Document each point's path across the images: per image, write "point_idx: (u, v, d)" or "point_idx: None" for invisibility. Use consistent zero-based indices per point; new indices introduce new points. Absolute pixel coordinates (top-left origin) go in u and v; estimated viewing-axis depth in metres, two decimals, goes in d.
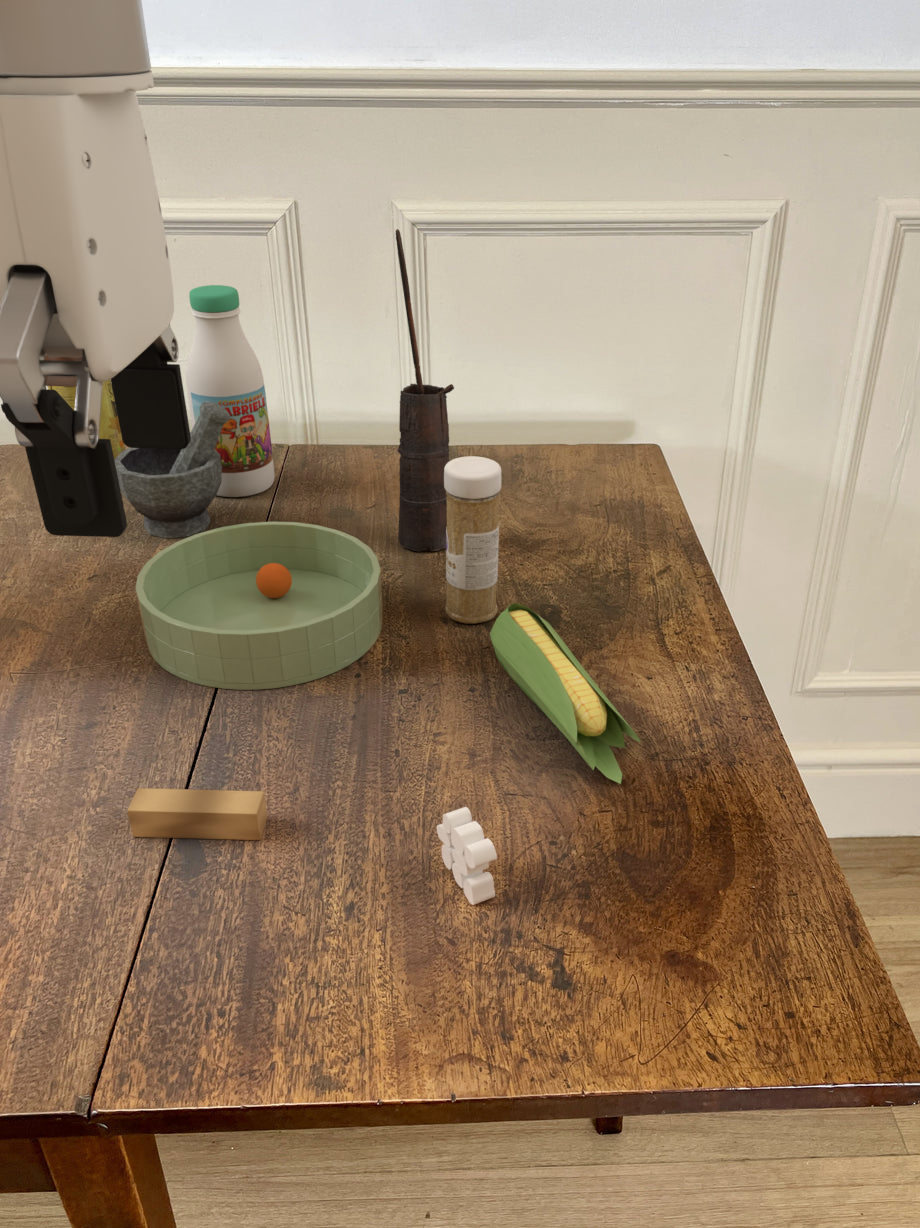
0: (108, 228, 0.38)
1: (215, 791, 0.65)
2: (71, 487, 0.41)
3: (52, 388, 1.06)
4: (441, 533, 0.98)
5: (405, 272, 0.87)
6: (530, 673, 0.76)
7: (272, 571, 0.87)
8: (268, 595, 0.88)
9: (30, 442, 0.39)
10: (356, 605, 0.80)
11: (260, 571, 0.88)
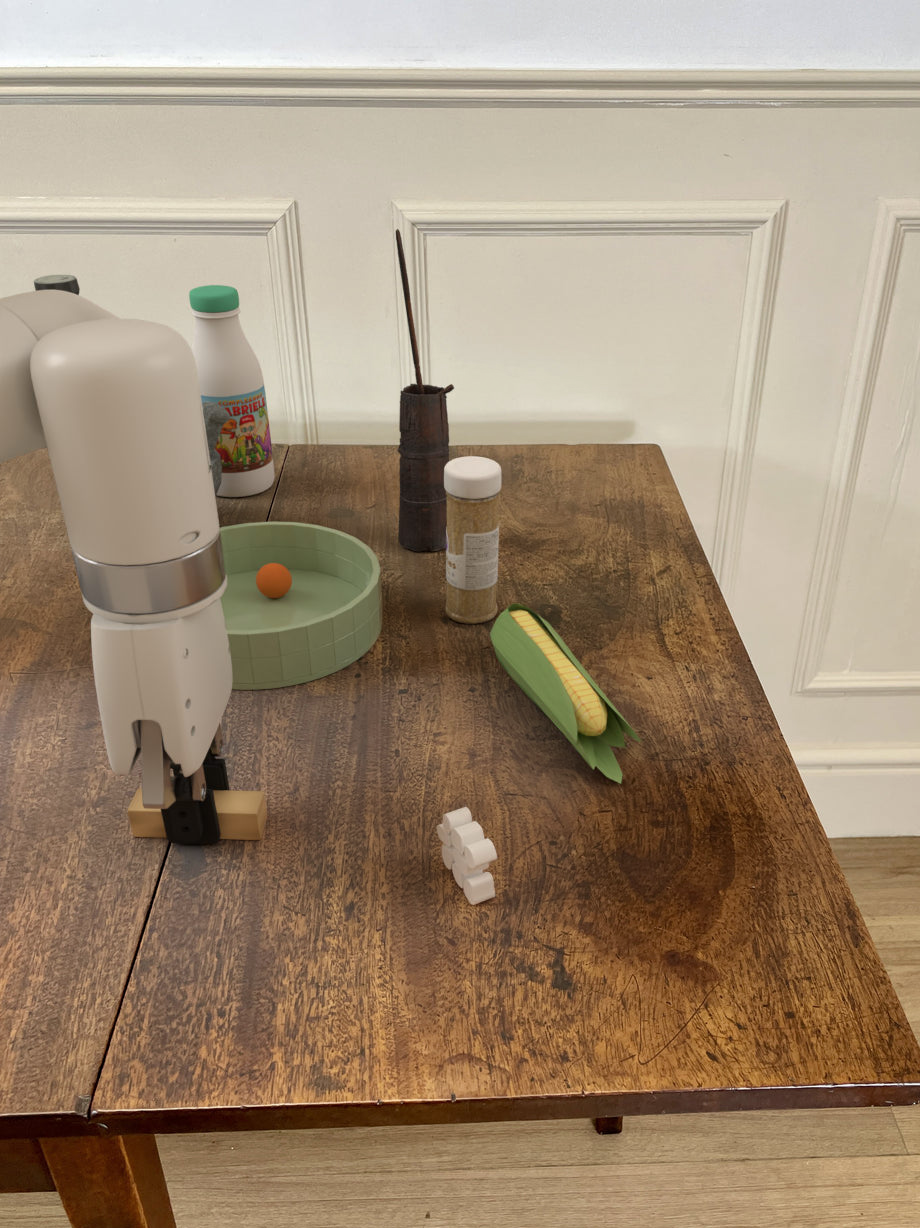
0: (197, 683, 0.56)
1: (215, 791, 0.65)
2: (187, 821, 0.62)
3: None
4: (441, 533, 0.98)
5: (405, 272, 0.87)
6: (530, 673, 0.76)
7: (272, 571, 0.87)
8: (268, 595, 0.88)
9: None
10: (356, 605, 0.80)
11: (260, 571, 0.88)
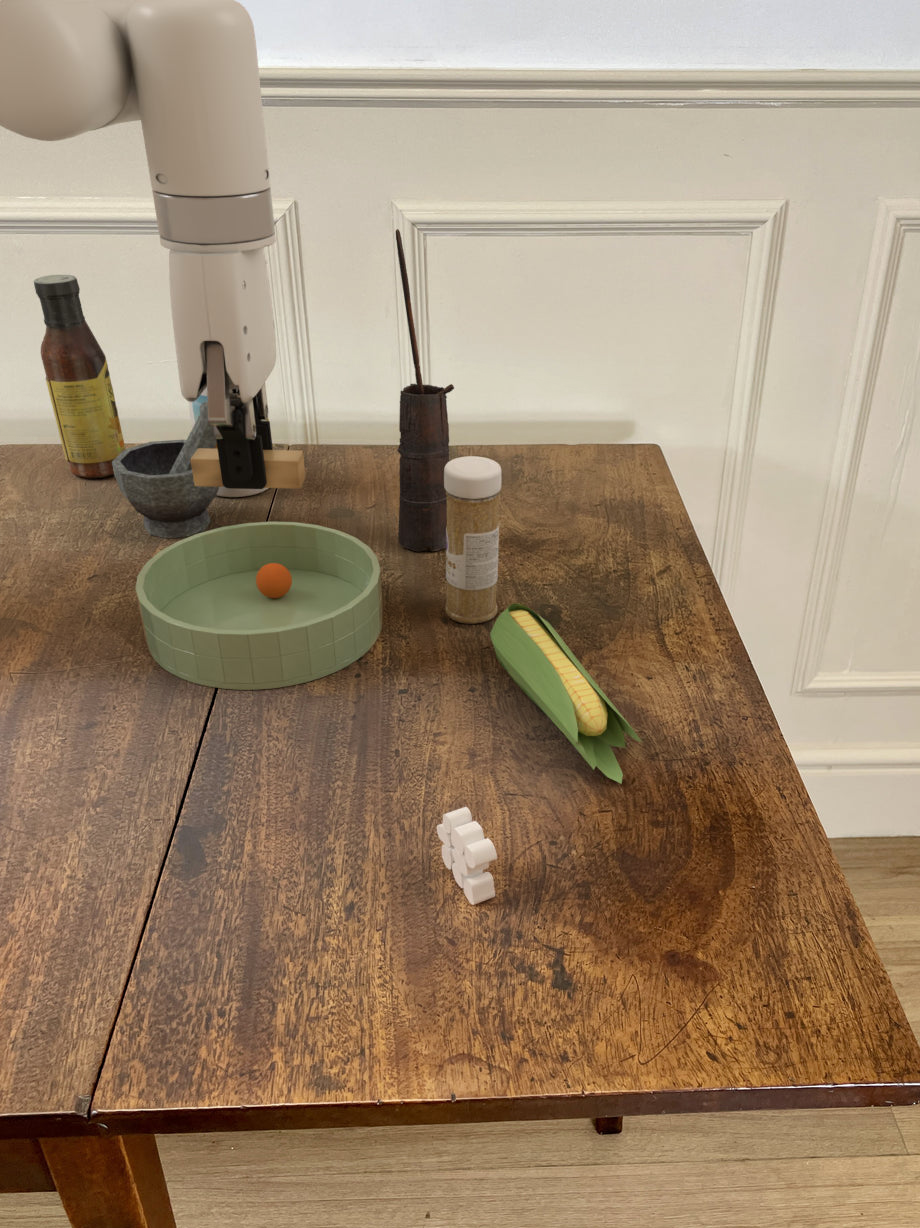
0: (252, 319, 0.70)
1: None
2: (240, 461, 0.76)
3: (52, 388, 1.06)
4: (441, 533, 0.98)
5: (405, 272, 0.87)
6: (530, 673, 0.76)
7: (272, 571, 0.87)
8: (268, 595, 0.88)
9: (223, 439, 0.75)
10: (356, 605, 0.80)
11: (260, 571, 0.88)
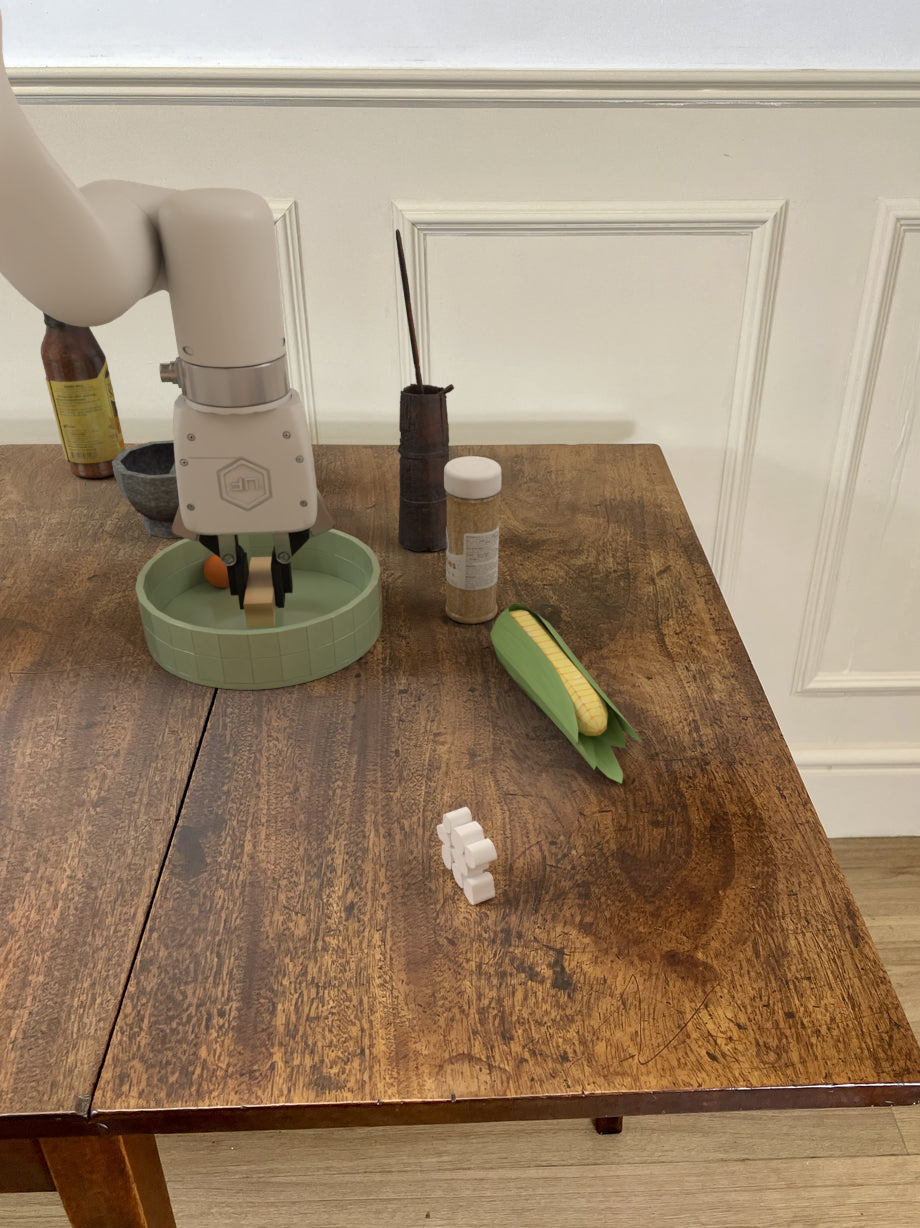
0: None
1: (250, 573, 0.85)
2: (290, 572, 0.84)
3: (52, 388, 1.06)
4: (441, 533, 0.98)
5: (405, 272, 0.87)
6: (531, 673, 0.76)
7: None
8: (209, 572, 0.89)
9: (288, 560, 0.83)
10: (356, 605, 0.80)
11: None
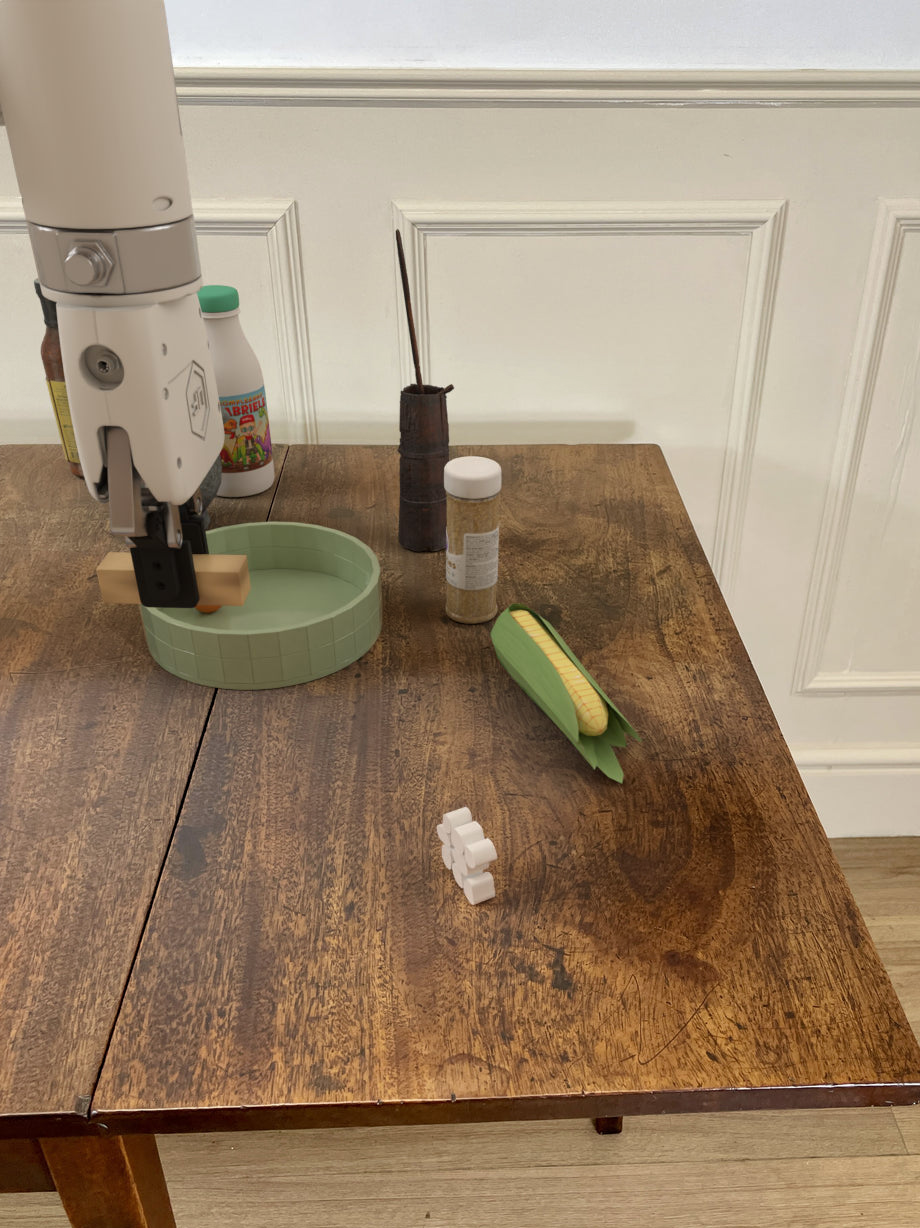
0: None
1: None
2: None
3: (52, 388, 1.06)
4: (441, 533, 0.98)
5: (405, 272, 0.87)
6: (531, 673, 0.76)
7: None
8: None
9: None
10: (356, 605, 0.80)
11: None
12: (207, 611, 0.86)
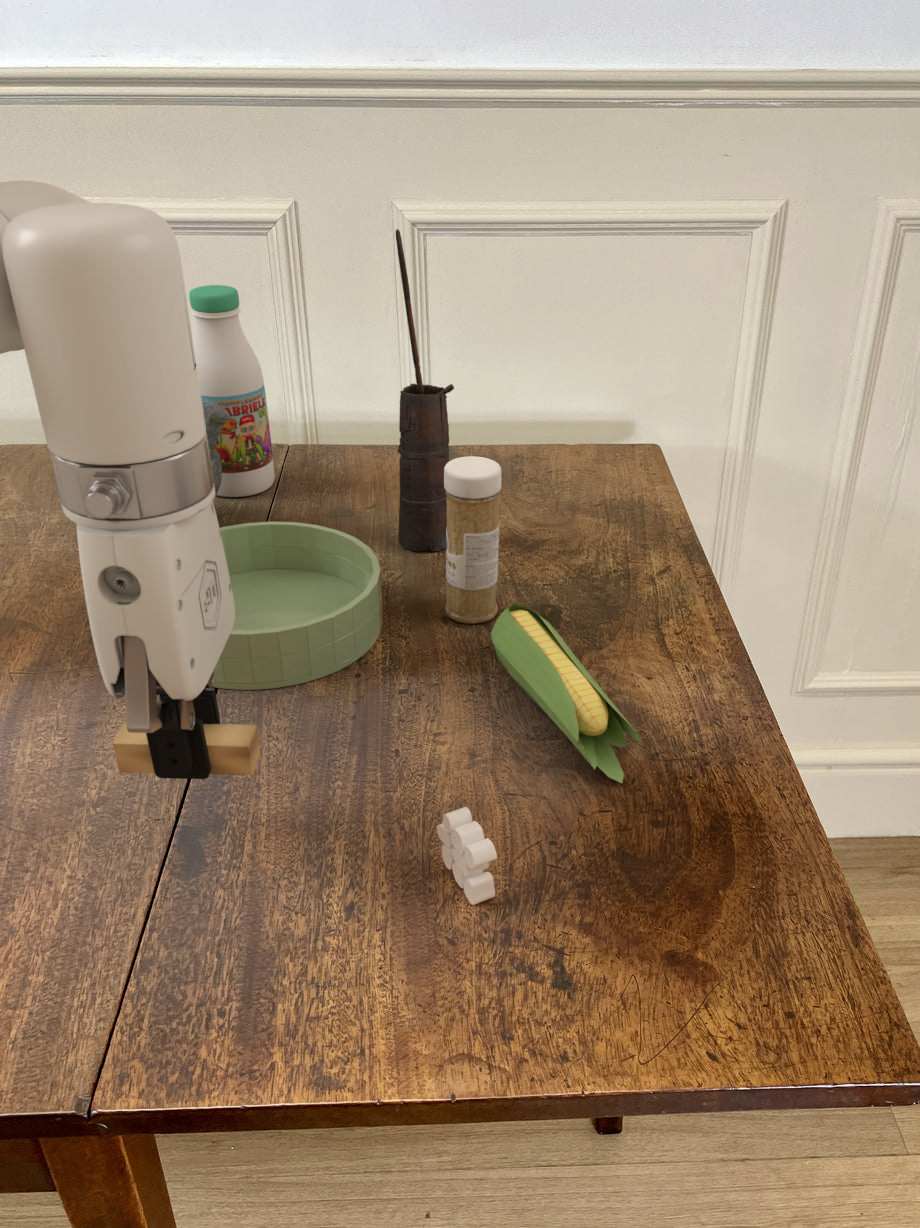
0: None
1: None
2: None
3: None
4: (441, 533, 0.98)
5: (405, 272, 0.87)
6: (531, 673, 0.76)
7: None
8: None
9: None
10: (356, 605, 0.80)
11: None
12: None
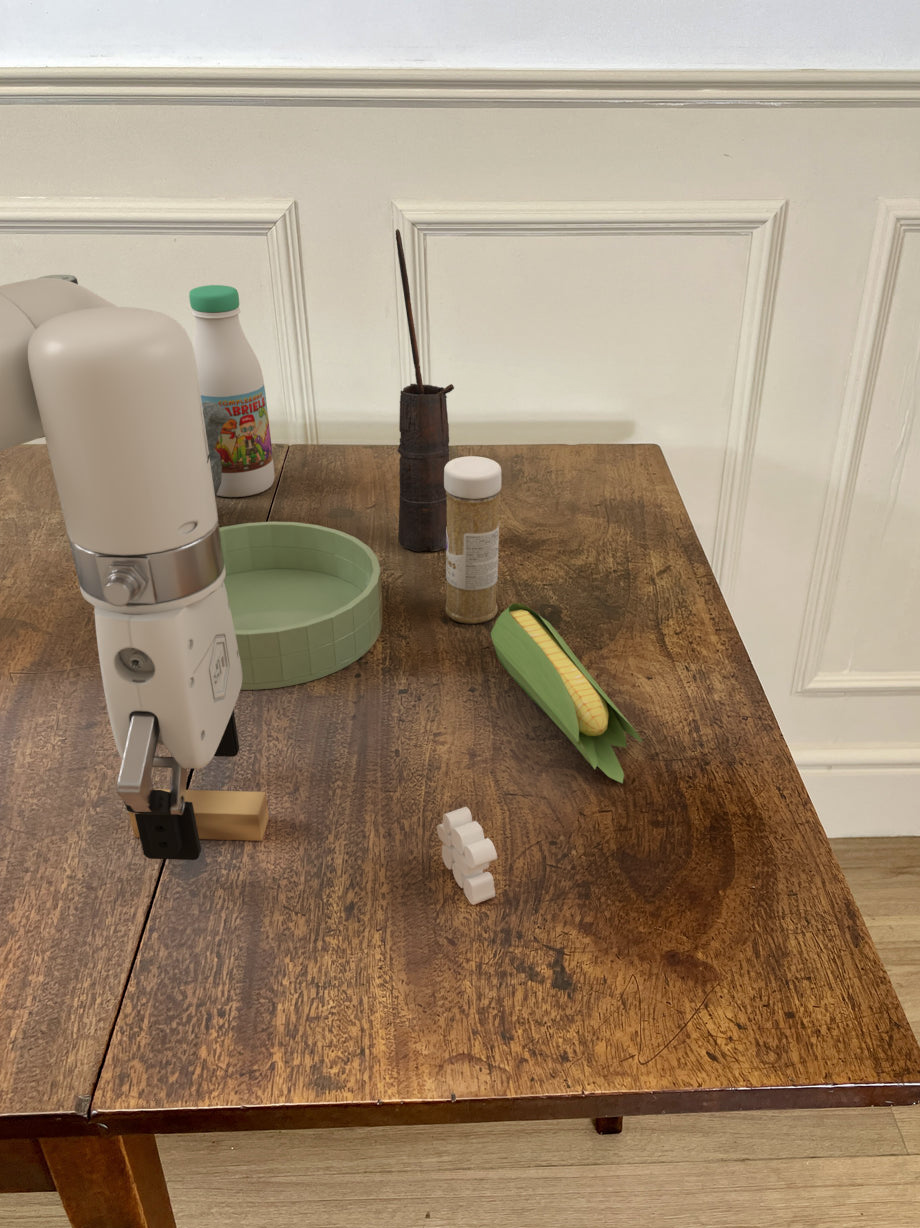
0: None
1: None
2: None
3: None
4: (441, 533, 0.98)
5: (405, 272, 0.87)
6: (531, 673, 0.76)
7: None
8: None
9: None
10: (356, 605, 0.80)
11: None
12: None
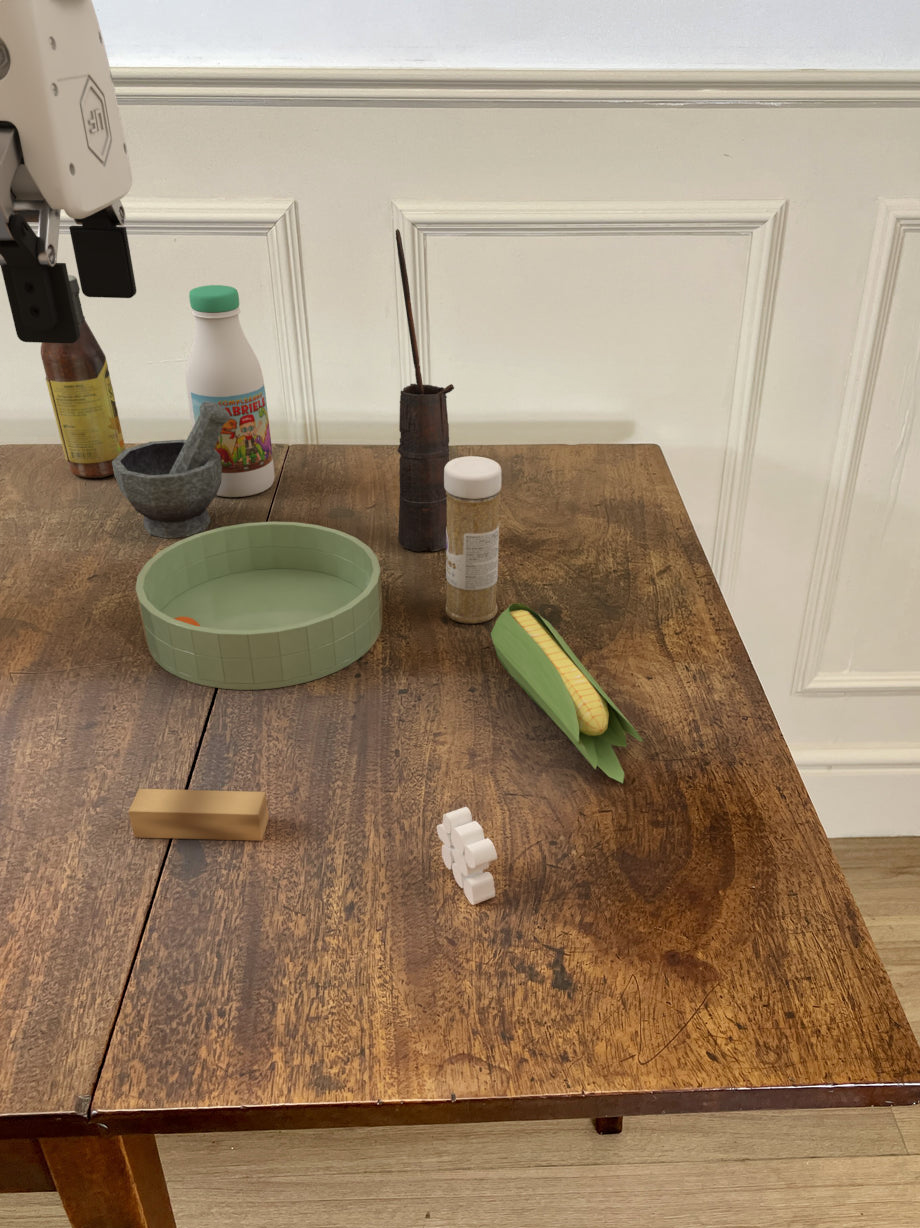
0: None
1: (178, 810, 0.64)
2: None
3: (52, 388, 1.06)
4: (441, 533, 0.98)
5: (405, 272, 0.87)
6: (531, 673, 0.76)
7: None
8: None
9: None
10: (356, 605, 0.80)
11: None
12: None
